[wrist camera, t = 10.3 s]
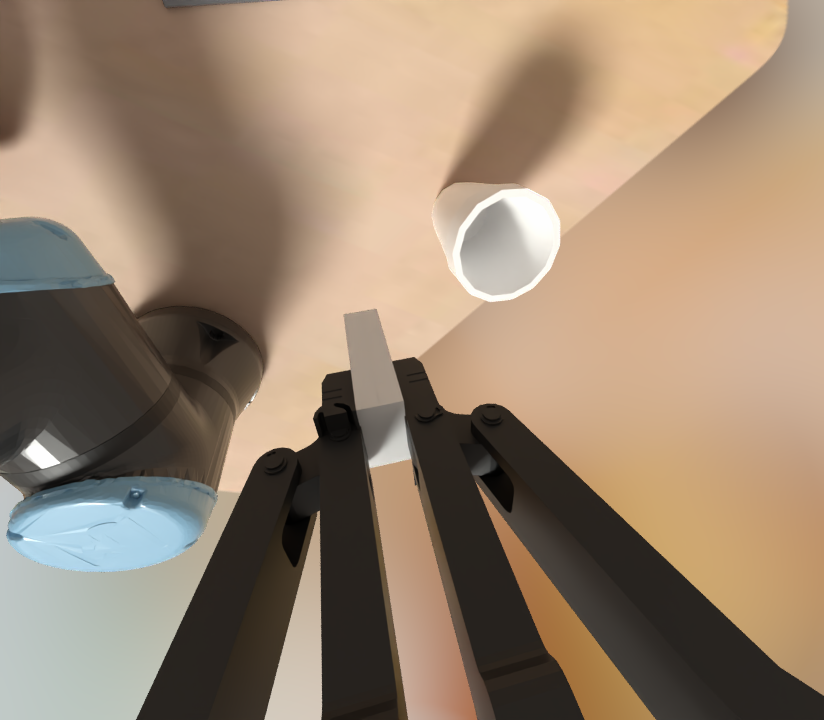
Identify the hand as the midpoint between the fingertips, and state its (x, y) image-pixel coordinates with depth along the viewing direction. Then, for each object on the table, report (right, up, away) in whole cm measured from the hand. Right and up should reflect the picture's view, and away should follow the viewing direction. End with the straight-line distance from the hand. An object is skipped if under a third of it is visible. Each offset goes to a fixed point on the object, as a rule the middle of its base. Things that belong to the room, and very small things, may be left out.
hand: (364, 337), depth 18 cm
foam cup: (+7, +15, +24) cm, 30 cm away
